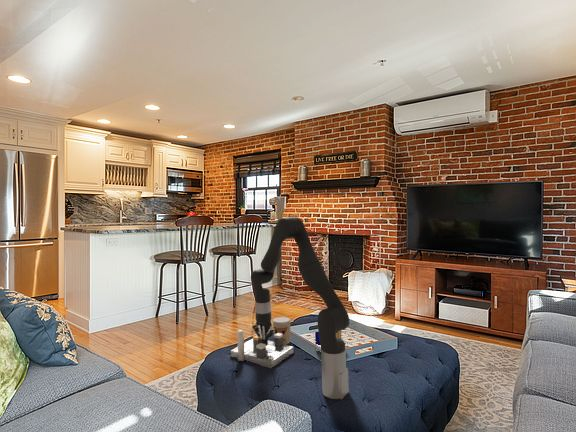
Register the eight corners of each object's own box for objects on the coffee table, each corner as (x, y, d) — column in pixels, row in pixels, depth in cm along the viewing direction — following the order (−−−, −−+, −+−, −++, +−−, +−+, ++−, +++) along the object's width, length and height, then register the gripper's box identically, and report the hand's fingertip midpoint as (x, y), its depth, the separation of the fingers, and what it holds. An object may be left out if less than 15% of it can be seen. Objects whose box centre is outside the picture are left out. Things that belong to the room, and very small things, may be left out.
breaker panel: (293, 352, 179) (293, 346, 178) (271, 368, 164) (271, 361, 164) (254, 343, 192) (254, 337, 192) (231, 356, 177) (230, 350, 177)
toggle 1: (262, 346, 180) (261, 335, 179) (258, 348, 177) (257, 338, 177) (257, 345, 181) (256, 334, 181) (253, 347, 179) (252, 336, 178)
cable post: (247, 359, 173) (245, 330, 172) (242, 362, 170) (240, 332, 169) (241, 357, 175) (239, 329, 174) (236, 360, 172) (234, 331, 171)
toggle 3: (283, 344, 181) (283, 333, 181) (279, 346, 179) (279, 336, 178) (278, 343, 183) (277, 332, 182) (274, 345, 180) (274, 334, 180)
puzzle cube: (315, 351, 179) (314, 331, 179) (323, 343, 188) (322, 324, 187) (334, 355, 175) (334, 334, 174) (342, 347, 183) (341, 327, 183)
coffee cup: (270, 344, 189) (269, 321, 188) (277, 337, 198) (276, 315, 197) (288, 346, 186) (287, 323, 185) (293, 339, 195) (292, 317, 194)
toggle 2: (266, 355, 169) (265, 344, 169) (262, 358, 167) (261, 346, 167) (260, 353, 171) (260, 342, 171) (256, 356, 169) (256, 345, 168)
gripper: (279, 310, 175) (280, 345, 176) (257, 306, 182) (258, 340, 184) (269, 315, 169) (271, 351, 170) (247, 310, 176) (249, 346, 177)
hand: (264, 345), depth 177 cm, fingers closed
